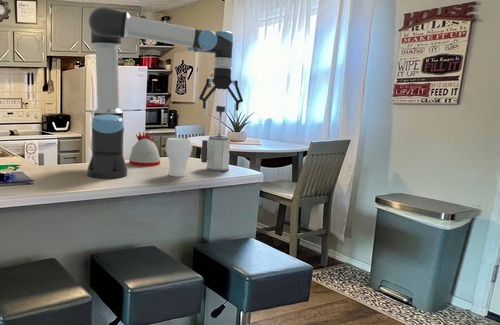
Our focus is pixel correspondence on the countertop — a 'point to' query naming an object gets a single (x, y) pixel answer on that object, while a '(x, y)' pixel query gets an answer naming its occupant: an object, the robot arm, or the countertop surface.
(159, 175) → the countertop surface
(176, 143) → the cup
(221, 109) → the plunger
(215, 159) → the carafe
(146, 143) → the grey and red dome
